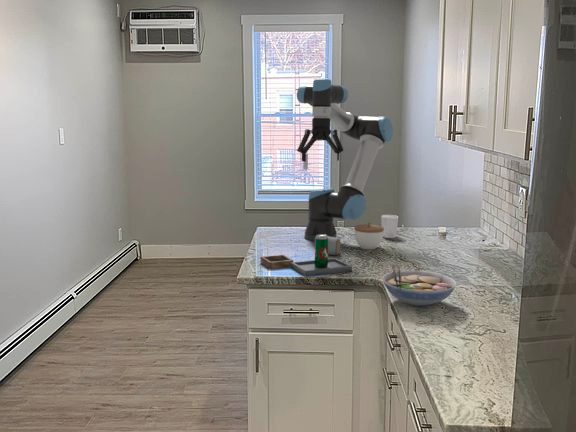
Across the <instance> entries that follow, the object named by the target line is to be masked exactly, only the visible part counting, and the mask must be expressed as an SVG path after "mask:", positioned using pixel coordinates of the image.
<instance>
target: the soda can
mask: <svg viewBox="0 0 576 432" xmlns="http://www.w3.org/2000/svg"><path fill="white" fill-rule="evenodd" d="M327 236H328V235H324V234H318V235H316V237H315V240H314V260H315V262H314V265H315V267H317V268H326V267H327V266H328V259H329V254H328V241H329V238H328V237H327Z"/></svg>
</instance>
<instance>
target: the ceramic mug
mask: <svg viewBox="0 0 576 432" xmlns="http://www.w3.org/2000/svg"><path fill="white" fill-rule="evenodd" d="M327 237H328V238H329V241H328V256H329V255H331V256H337V255H339V253H340V250H341V239H340V238H338V237H337V238H335V237H329V236H327Z"/></svg>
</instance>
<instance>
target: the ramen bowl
mask: <svg viewBox="0 0 576 432" xmlns="http://www.w3.org/2000/svg"><path fill="white" fill-rule="evenodd" d="M400 268H401V266H399V265H397V271H396V269H395V266H394V265H392V266H391V269H392V271H391V272H387V273H385V274H384V275H383V276H381V280H382V283H383V285H384V286H385V287H386V289H387V290H388V292H389V293H390V295H391V296H392V297H394V298H395V299H397V300H399V301H401V302H404V303H405V304H407V305H409V306H413V307H427V306H429V305H433V304H438V303H440V302H442V301H443V300H446V299H447V298H448V297H449V296H450V295H451V294H452V292H453V291H454V290H455V288H456V286H457V283H458V282H457V281H456V280H455V279H454V278H452V277H450V276H447V275H445V274H442V273H441V274H440V273H438V272H432V271H423V270H400Z"/></svg>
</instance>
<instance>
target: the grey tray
mask: <svg viewBox="0 0 576 432" xmlns="http://www.w3.org/2000/svg"><path fill="white" fill-rule="evenodd" d="M314 262H315V259H312V260H301V261H300V260H299V261H293V262H291V267H290V268H291V269H292V270H295V272H297V271H298V272H297V273H299V274H301V275H302V274H303V275H302V276H304V277H311V276H312V277H313V276H320V275H330V274H339V272H341V273H346V271H350V272H352V271H353V270H352V268H353V267H352V265H350V264H349V263H346V262H345V261H343V260H340V259H339V258H336V257H332V258H328V266H327V267H326V268H317V267H315V265H314Z"/></svg>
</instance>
